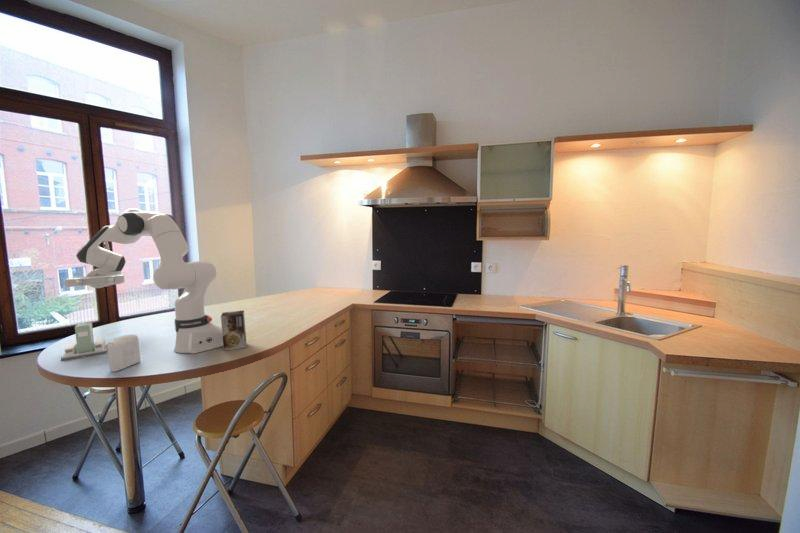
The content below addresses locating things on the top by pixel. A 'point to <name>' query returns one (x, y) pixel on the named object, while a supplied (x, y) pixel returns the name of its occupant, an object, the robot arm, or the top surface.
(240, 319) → the coffee box
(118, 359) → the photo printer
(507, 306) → the top surface
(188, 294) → the robot arm
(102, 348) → the rail board
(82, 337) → the loose module
